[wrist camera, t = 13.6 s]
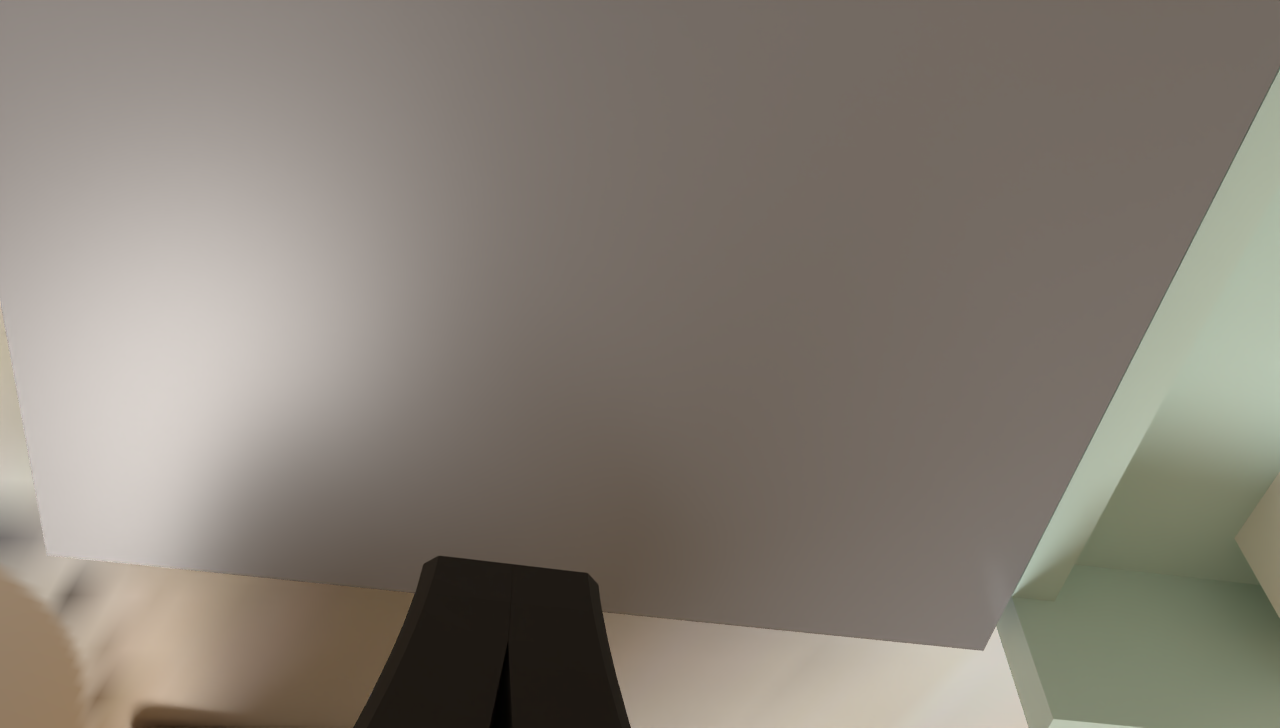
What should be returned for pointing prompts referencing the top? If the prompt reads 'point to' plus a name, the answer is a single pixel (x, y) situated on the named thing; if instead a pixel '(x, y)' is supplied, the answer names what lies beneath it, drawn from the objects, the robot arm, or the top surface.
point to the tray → (1172, 498)
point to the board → (600, 284)
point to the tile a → (1264, 542)
